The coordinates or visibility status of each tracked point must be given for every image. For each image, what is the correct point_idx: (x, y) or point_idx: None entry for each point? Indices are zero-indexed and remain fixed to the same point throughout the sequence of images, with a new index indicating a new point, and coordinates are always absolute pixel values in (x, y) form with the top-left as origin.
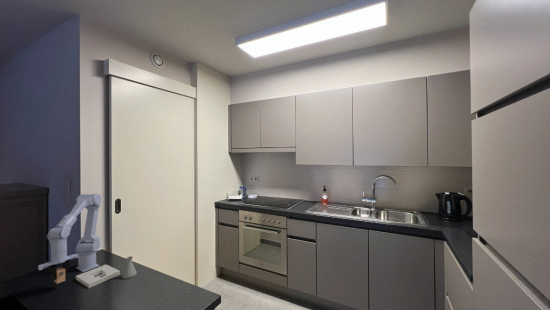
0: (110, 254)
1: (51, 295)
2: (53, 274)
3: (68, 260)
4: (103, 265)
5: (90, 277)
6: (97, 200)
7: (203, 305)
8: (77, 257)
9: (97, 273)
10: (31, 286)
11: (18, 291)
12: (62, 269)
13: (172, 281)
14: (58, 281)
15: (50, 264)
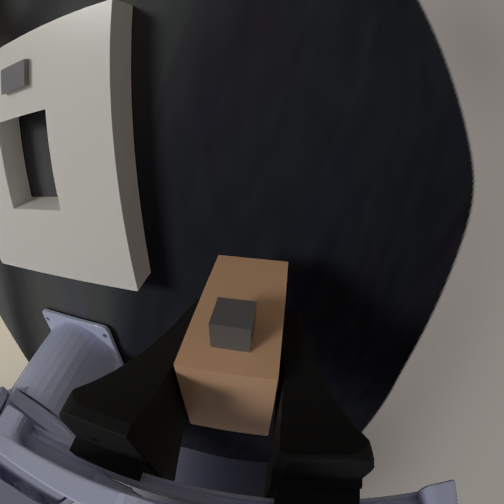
0: (27, 358)
1: (352, 180)
2: (316, 367)
3: (95, 456)
4: (10, 264)
5: (65, 139)
6: None
7: None
8: (10, 412)
9: (39, 202)
10: None
11: (372, 403)
12: (204, 377)
13: None
14: (275, 273)
15: None
